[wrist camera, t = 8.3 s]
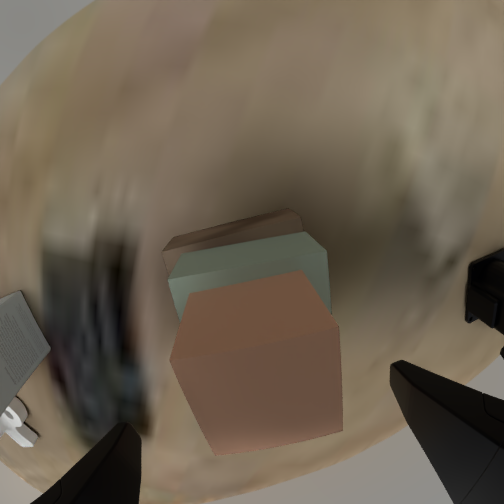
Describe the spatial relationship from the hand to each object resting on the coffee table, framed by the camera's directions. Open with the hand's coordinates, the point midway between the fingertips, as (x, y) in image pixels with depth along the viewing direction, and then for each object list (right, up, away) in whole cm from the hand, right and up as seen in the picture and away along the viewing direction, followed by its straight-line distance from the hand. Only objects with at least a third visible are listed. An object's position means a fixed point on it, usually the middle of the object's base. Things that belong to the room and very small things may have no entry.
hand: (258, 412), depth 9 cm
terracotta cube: (0, +1, +5) cm, 5 cm away
